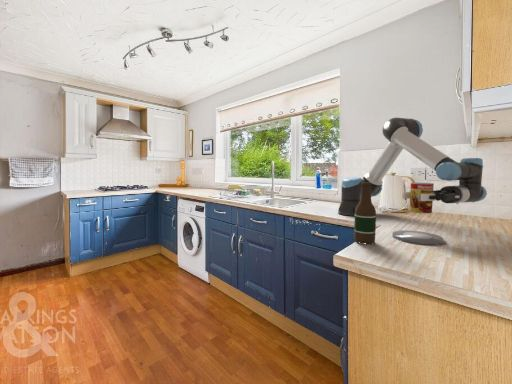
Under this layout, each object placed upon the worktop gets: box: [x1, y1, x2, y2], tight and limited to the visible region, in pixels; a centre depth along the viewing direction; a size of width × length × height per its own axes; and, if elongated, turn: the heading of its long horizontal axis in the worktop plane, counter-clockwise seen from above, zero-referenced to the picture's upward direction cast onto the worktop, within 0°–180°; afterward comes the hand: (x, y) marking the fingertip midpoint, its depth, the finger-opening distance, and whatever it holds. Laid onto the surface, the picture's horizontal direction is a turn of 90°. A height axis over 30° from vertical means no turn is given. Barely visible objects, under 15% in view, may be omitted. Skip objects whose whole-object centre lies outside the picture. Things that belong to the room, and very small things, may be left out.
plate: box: [392, 229, 445, 246], centre depth 104 cm, size 18×18×1 cm
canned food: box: [408, 181, 435, 215], centre depth 103 cm, size 8×8×12 cm
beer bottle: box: [353, 182, 377, 245], centre depth 99 cm, size 8×8×24 cm
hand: (412, 196), depth 102 cm, fingers closed on canned food, 8 cm apart
